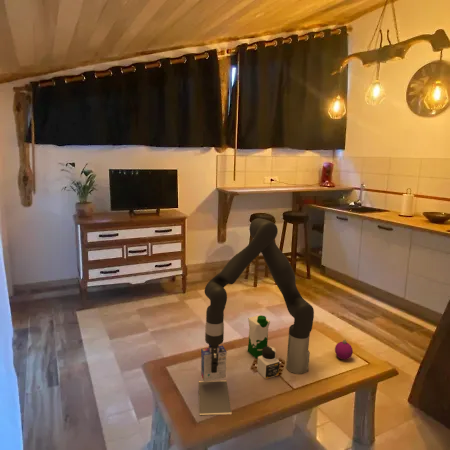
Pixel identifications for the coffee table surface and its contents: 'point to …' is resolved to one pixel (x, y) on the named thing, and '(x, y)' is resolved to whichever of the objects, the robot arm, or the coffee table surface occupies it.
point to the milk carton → (257, 335)
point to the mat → (214, 398)
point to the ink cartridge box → (206, 364)
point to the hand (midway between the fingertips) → (213, 367)
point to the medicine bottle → (268, 363)
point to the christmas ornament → (343, 350)
